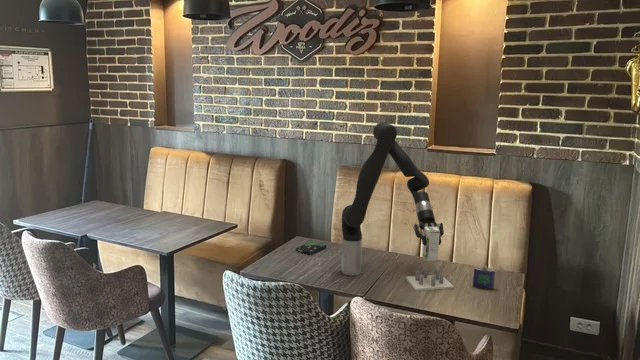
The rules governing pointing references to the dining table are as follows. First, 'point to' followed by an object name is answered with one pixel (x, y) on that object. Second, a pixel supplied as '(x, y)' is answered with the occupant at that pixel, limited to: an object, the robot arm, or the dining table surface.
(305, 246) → the disk drive
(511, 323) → the dining table surface
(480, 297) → the dining table surface
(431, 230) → the syrup box
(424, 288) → the dock
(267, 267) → the dining table surface
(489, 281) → the flask
